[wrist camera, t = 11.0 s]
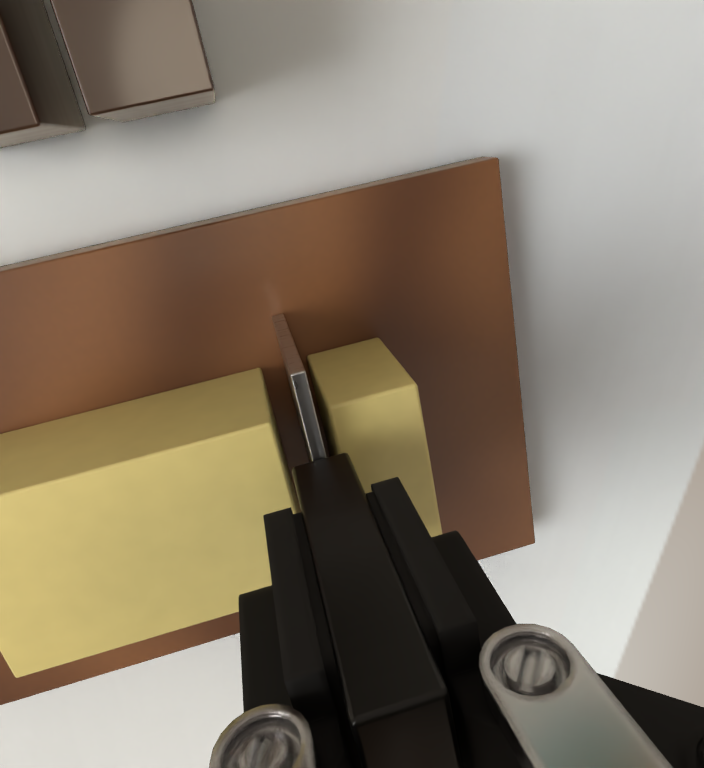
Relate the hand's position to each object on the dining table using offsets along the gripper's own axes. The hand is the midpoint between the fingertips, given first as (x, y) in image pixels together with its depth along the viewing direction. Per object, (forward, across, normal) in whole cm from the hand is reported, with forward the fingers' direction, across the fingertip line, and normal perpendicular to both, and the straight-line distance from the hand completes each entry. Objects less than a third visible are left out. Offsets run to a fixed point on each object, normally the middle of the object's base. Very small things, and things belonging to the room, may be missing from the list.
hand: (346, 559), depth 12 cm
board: (+7, +3, 0) cm, 7 cm away
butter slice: (+6, -2, 0) cm, 6 cm away
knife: (+6, 0, 0) cm, 6 cm away
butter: (+6, +4, 0) cm, 7 cm away
